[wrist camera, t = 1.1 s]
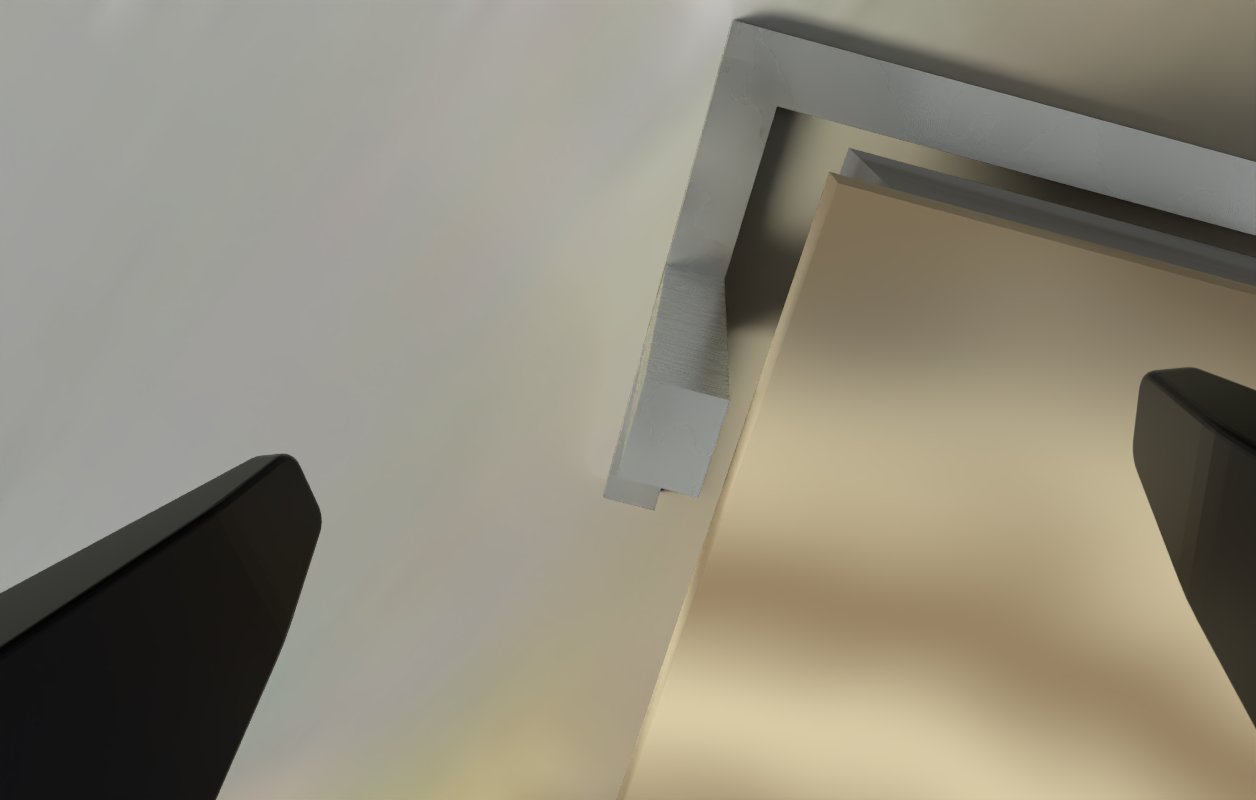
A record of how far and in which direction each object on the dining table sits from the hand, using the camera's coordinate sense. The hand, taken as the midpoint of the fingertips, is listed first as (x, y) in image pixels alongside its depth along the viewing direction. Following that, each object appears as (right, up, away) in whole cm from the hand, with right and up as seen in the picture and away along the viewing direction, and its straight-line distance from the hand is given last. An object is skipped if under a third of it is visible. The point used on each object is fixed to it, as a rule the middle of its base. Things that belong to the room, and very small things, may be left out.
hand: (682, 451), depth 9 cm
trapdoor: (+8, -3, +12) cm, 15 cm away
